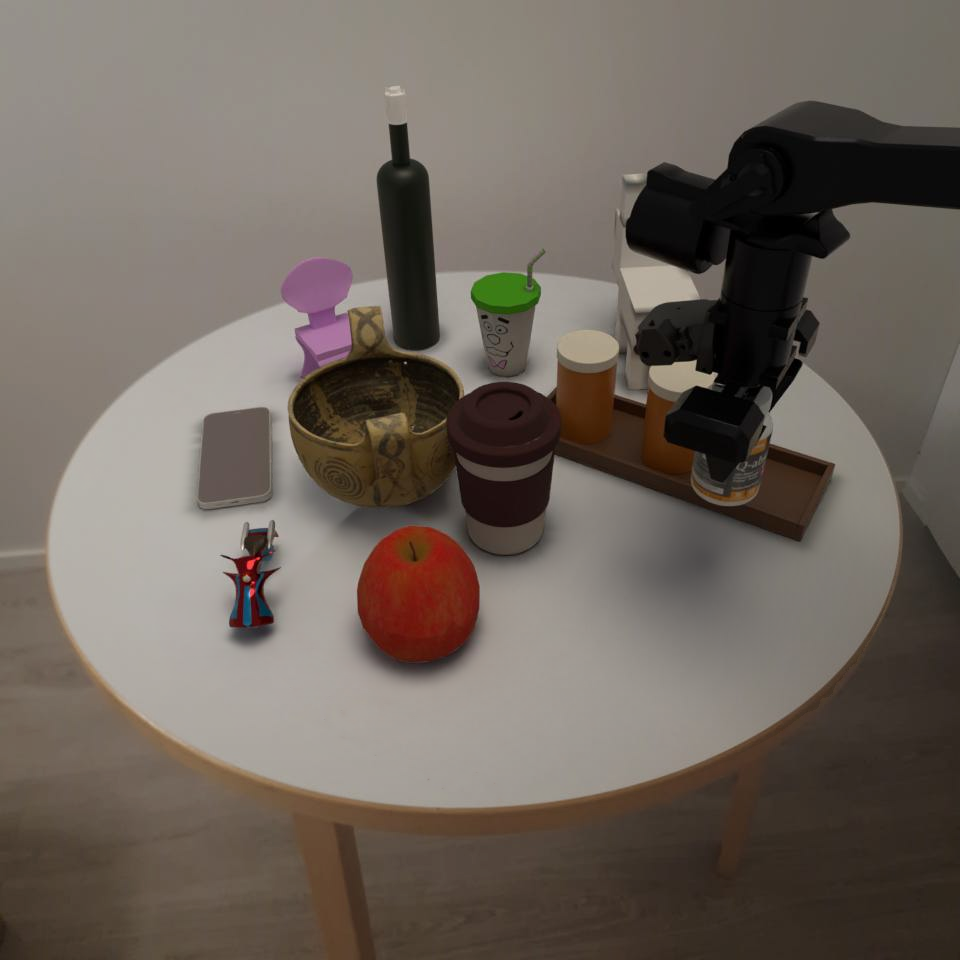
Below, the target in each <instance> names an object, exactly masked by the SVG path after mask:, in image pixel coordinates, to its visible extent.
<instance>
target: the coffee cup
mask: <svg viewBox="0 0 960 960" xmlns="http://www.w3.org/2000/svg"><path fill="white" fill-rule="evenodd" d="M561 421H562V420H561V414H560V412H559V410H558V408H557V406H556V405H555V404H554V403H553V402H552V401H551V400H550V399H549V398H547V396H546V395H544V394H543V393H541V392H538V391H536V390H535V389H534V388H533V387H530V386H528V385H526V384H523V383H520V382H515V381H493V382H489V383H485V384H482V385H480V386H478V387H476V388H475V389H473V390H471V391H470V392H469V393H467V394H464V396H463V397H462V398H460V399H459V400H458V401H457V402H456V403H455V404H454V405H453V406H452V407H451V409H450V410H449V412H448V415H447V419H446V428H447V437H448V440H449V443H450V445H451V447H452V448H453V449H454V458H455V464H456V467H455V471H456V476H457V484H458V490H459V497H460V503H461V505H462V508H463V509H464V514H465V521H466V528H467V533H468V535H469V537H470V539H471V541H472V542H473V543H474V544H475V545H476V546H477V547H478V548H480V549H481V550H483V551H486V552H487V553H490V554H494V555H502V556H503V555H504V556H510V555H516V554H520V553H523V552H525V551H527V550H529V549H531V548H532V547H534V546H535V545H536V544H537V543H538V542H539V541H540V539H541V538H542V536H543V533H544V529H545V521H546V510H547V507H548V505H549V502H550V497H551V488H552V480H553V479H552V478H553V470H554V464H555V455H556V454H555V451H554V448H555V447H556V445H557V444H558V442H559V439H560V436H561Z"/></svg>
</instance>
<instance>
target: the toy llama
mask: <svg viewBox="0 0 960 960" xmlns="http://www.w3.org/2000/svg"><path fill="white" fill-rule="evenodd" d="M687 171H688V172H691V173H692V171H690V170H687ZM646 181H647V173H632V174H631V173H630V174H627V173H626V174H622V177H621V191H620V193H621V194H620V203H619V207H616V208H615V213H614V228H613V242H612V257H611V270H612V272H613V275H614V279H615V281H616V284H617V287H618V289H617V301H616V302H617V303H616V316H615V328H614V339H615V340H616V341H617V342H618V344H619V355H620V354H626V359H625V371H624V380H625V383H626V387H627V389H628V390H629V391H630V390H633V391H634V390H648V387H649V385H648V377H649V370H650V367H651V366H647V365H645V364H644V363H642V362H641V360H640V356H639V355H637V354H635V352H634V350H633V348H634V346H635V345H636V337H635V334H636V333H637V332H638V326H639V324H640V323H641V322H642V321H643V320H644V319H645V317H646V316H647V315H648V314H649V313H650V312H651V310H652V309H653V308H654V307H656V306H657V305H660V304H662V303H667V302H676V301H688V300H699V299H701V296H700V294H699V292H698V290H697V288H696V286H695V283H694V281H693V279H692V277H691V275H690V273H689V271H686V270H684V269H681V268H678V267H675V266H672V265H670V264H667V263H664V262H661V261H658V260H655V259H653V258H650V257H647V256H644V255H641V254H639V253H636V252H633V251H632V250H631V249H629V247H628V245H627V242H626V234H625V228H626V221H627V219H628V218H629V217H630V215H631V211H632V208H633V206H634V203H635V201H636V199H637V197H638V196H639V194H640V192H641V191H642V190H643V188H644V187H645V186H646Z"/></svg>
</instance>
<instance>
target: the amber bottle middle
mask: <svg viewBox="0 0 960 960" xmlns="http://www.w3.org/2000/svg"><path fill="white" fill-rule="evenodd" d="M696 362H697V360H695V361H690V362H674V363H673V364H672V365H665V366H651V367H650V370H649V377H648V385H649V387H648V389H647V397H646V404H647V405H646V414H645V423H644V431H643V440H642V449H641V456H642V459H643V461H644V462H645V464H646V465H647V466H649V467H650V468H652V469H654V470H657V471H659V472H662V473H665V474H683V473H687V472H689V471H691V470H692V466H693V460H694V453H695V451H693V450H690V449H687V448H684V447H681V446H677V445H674V444H671V443H668V442H667V441H666V439H665V438H664V436H663V433H664V426H665V418H666V415H667V413H668V412H669V411H670V409H671V408H672V406H673V405H674V404H675V402H676V401H677V400H678V398H679V397H680V395H681V394H682V393H683V392H684V391H686V390H688V389H690V388H692V387H694V386H696V385H697V386H700V387H704V388H707V389H711V388H712V385H713V383H714V379H715V378H716V373H715V372H713V373H712V374H711V375H709V374H705V373H702V372H698V371H695V368H696Z"/></svg>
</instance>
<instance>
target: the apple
mask: <svg viewBox="0 0 960 960" xmlns="http://www.w3.org/2000/svg"><path fill="white" fill-rule="evenodd" d="M480 589H481V586H480V582H479V577H478V574H477V570H476V567H475V565H474V562H473V561H472V560H471V558H470V556H469V555H468V553H467V551H466V550H465V549H464V548H463V547H462V545H460V544H459V543H458V542H457V541H456V540H455V539H454V538H452V537H451V536H450V535H448V534H447V533H445V532H442V531H441V530H438V529H436V528H434V527H431V526H425V525H424V526H423V525H412V524H411V525H406V526H403V527H400V528H397V529H395V530H393V531H391V532H390V533H389V534H387V535H386V536H384V537H383V538H381V540H379V542H377V544H376V545H375V546H374V547H373V549H372V550H371V552H370V553H369V555H368V557H367V558H366V560H365V561H364V563H363V567H362V569H361V573H360V575H359V579H358V582H357V587H356V602H357V603H356V604H357V614H358V617H359V620H360V623H361V626H362V629H363V630H364V631H365V633H366V634H367V636H368V637H369V638H370V640H371V641H372V642H373V643H374V644H375V646H376V648H378V649H379V650H380V651H381V652H383V653H384V654H386V655H388V656H389V657H391V658H393V659H394V660H396V661H399V662H404V663H410V664H413V663H415V664H416V663H431V662H434V661H437V660H440V659H442V658H445V657H447V656H449V655H451V654H452V653H454V652H455V651H456V650H458V649H459V648H460V647H462V646H463V645H464V644H466V642H467V641H468V639H469V637H470V636H471V635H472V633H473V631H474V629H475V628H476V624H477V619H478V616H479V611H480V602H481V601H480V599H481V598H480V596H481V595H480V594H481V593H480V592H481V591H480Z"/></svg>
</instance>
